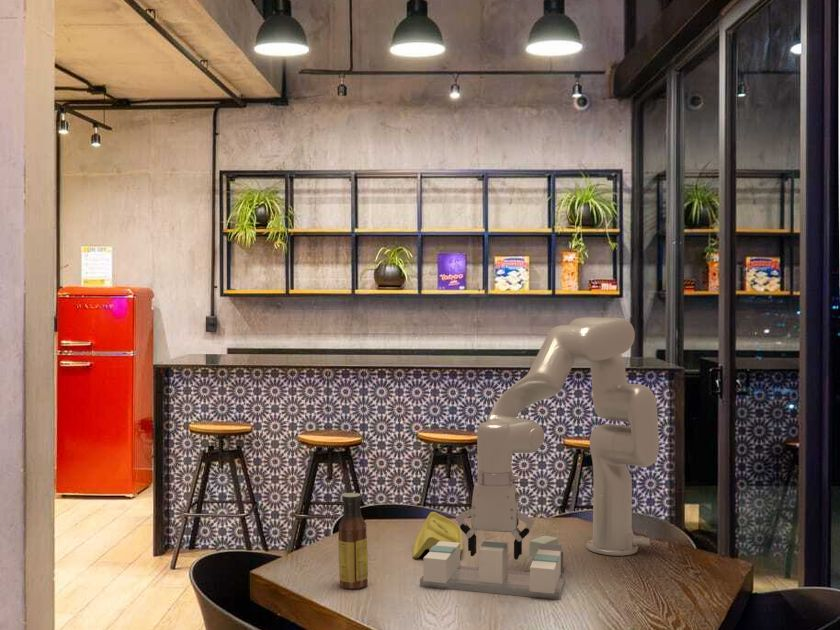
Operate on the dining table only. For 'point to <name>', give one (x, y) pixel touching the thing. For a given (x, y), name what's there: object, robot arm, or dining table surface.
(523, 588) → the rail
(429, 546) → the plastic component
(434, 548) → the block
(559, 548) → the block
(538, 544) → the block
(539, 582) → the mounted module
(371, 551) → the dining table surface
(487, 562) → the block
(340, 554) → the sauce bottle
